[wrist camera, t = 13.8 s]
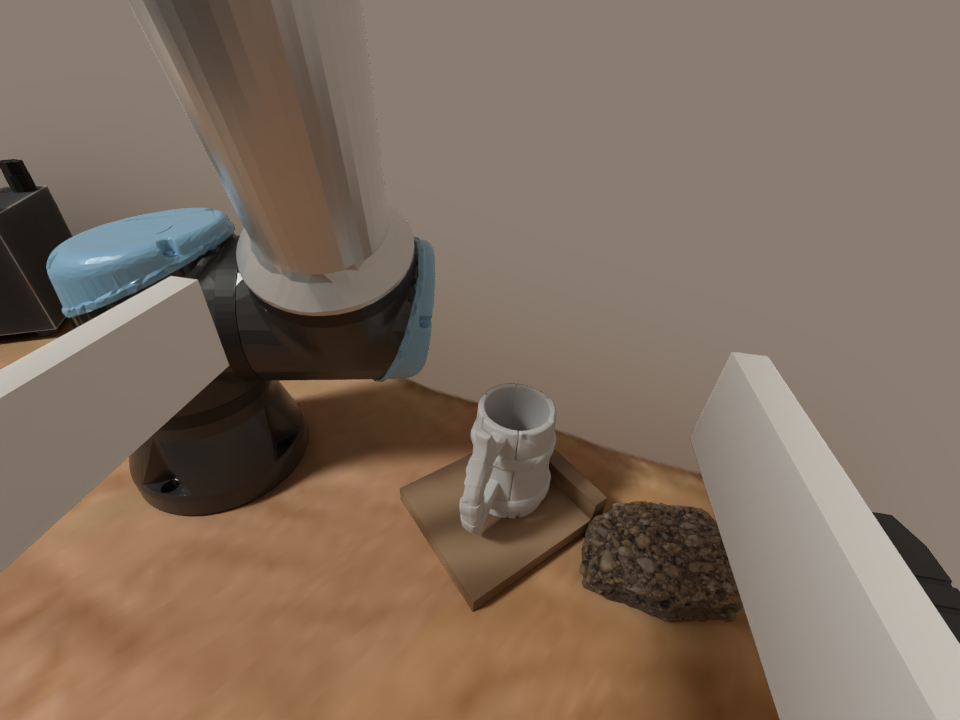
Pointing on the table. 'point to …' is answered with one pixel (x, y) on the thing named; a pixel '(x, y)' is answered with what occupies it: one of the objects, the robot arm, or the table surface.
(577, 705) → the table surface
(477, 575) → the rest board
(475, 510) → the mug
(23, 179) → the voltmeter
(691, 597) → the concrete sample
